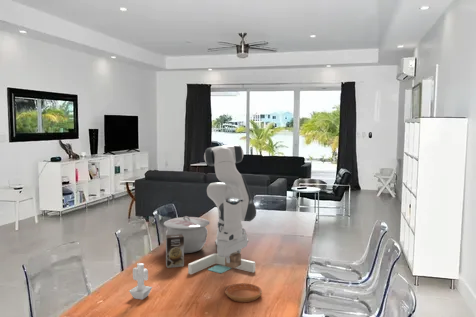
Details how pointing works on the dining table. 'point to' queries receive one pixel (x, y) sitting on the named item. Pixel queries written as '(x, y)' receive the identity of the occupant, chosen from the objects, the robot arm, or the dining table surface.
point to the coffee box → (174, 250)
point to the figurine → (140, 282)
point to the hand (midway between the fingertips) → (233, 260)
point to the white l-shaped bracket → (217, 259)
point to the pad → (219, 269)
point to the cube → (234, 260)
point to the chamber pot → (189, 231)
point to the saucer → (243, 292)
